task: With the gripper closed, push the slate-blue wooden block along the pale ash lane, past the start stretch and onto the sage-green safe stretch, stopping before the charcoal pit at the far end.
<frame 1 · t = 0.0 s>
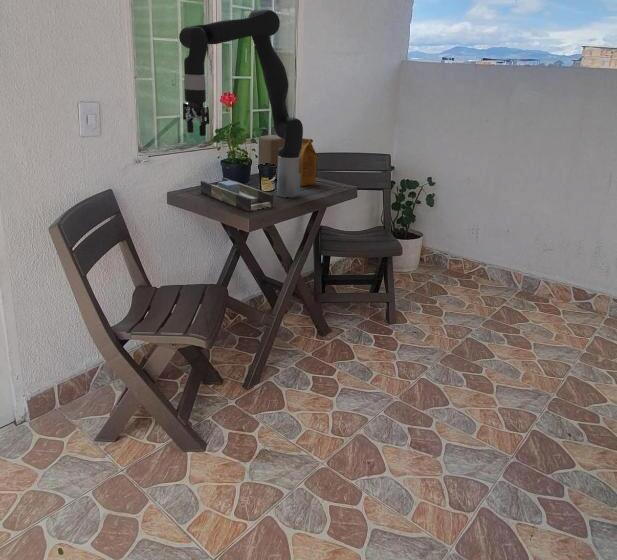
hand: (196, 134, 205), 29 cm above the table, tool pointing down, fingers open, 8 cm apart
slate block: (228, 192, 238), point 2 cm above the table, touching trap lane
trap lane: (235, 199, 235), on the table
block: (271, 178, 275), on the table
coffee package: (302, 184, 266), on the table
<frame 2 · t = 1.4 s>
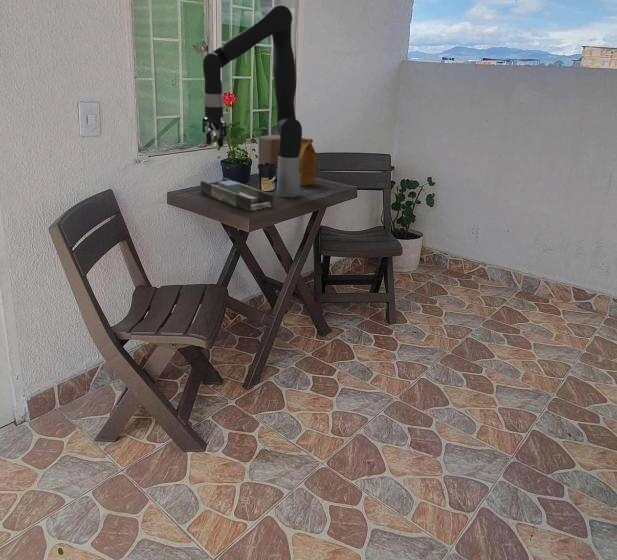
hand: (214, 145, 234), 21 cm above the table, tool pointing down, fingers open, 8 cm apart
nothing on the table moved.
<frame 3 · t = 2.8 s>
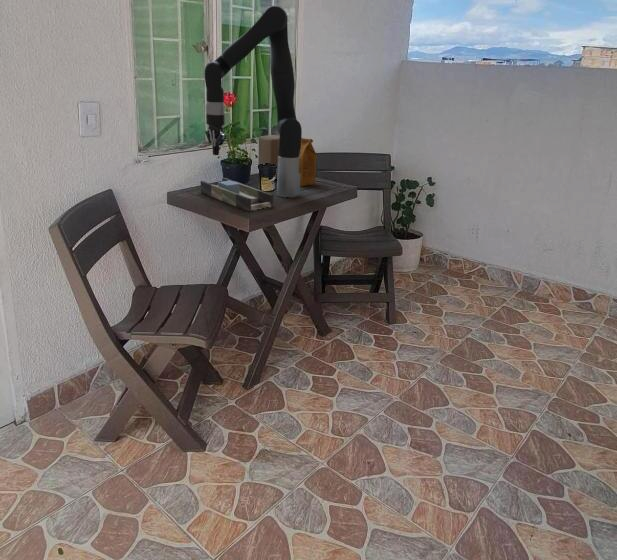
hand: (215, 154, 238), 16 cm above the table, tool pointing down, fingers closed
nothing on the table moved.
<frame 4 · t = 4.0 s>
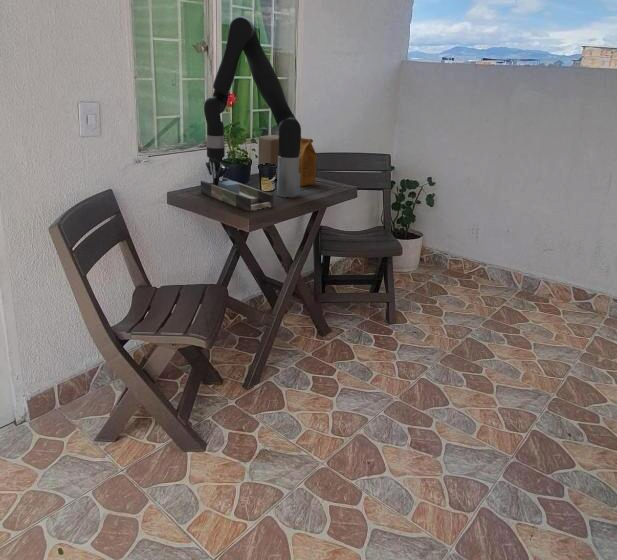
hand: (216, 185, 244), 3 cm above the table, tool pointing down, fingers closed
nothing on the table moved.
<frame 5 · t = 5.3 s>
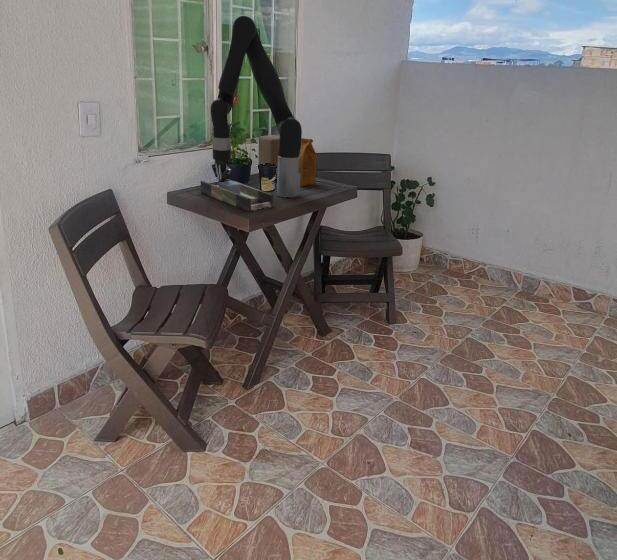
hand: (221, 188, 241), 3 cm above the table, tool pointing down, fingers closed
slate block: (229, 192, 237), point 2 cm above the table, touching gripper
everything else where it was.
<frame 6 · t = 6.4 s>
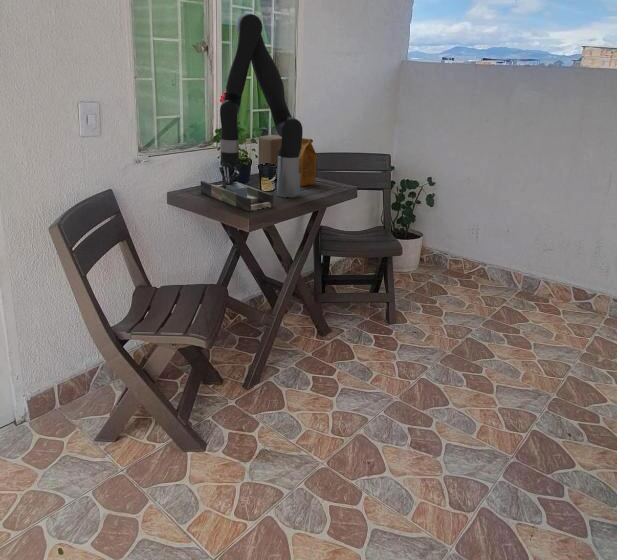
hand: (229, 191, 237), 3 cm above the table, tool pointing down, fingers closed
slate block: (236, 195, 232), point 2 cm above the table, touching gripper
everything else where it was.
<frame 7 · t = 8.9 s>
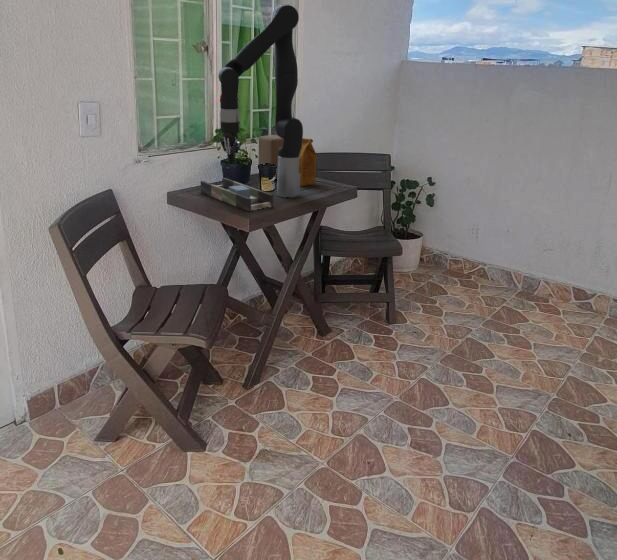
hand: (231, 162, 232), 15 cm above the table, tool pointing down, fingers closed
slate block: (239, 197, 231), point 2 cm above the table, touching trap lane
everything else where it was.
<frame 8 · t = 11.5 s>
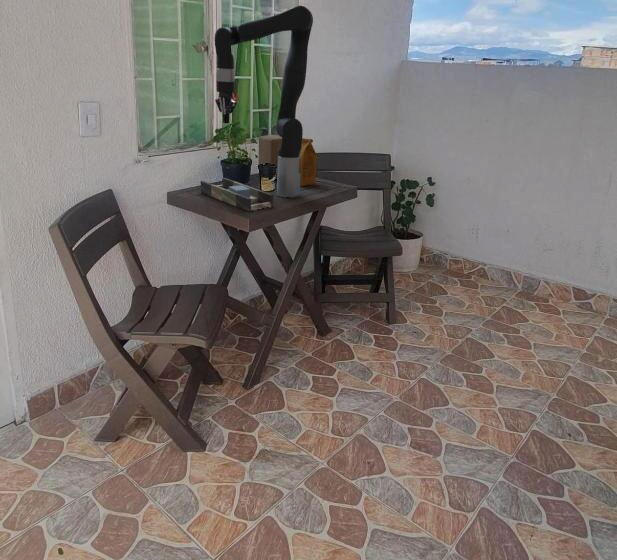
hand: (226, 123, 238), 29 cm above the table, tool pointing down, fingers closed
nothing on the table moved.
at the end: slate block 1.2 cm from the target spot, point 2.0 cm above the table; slate block tilted 0° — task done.
